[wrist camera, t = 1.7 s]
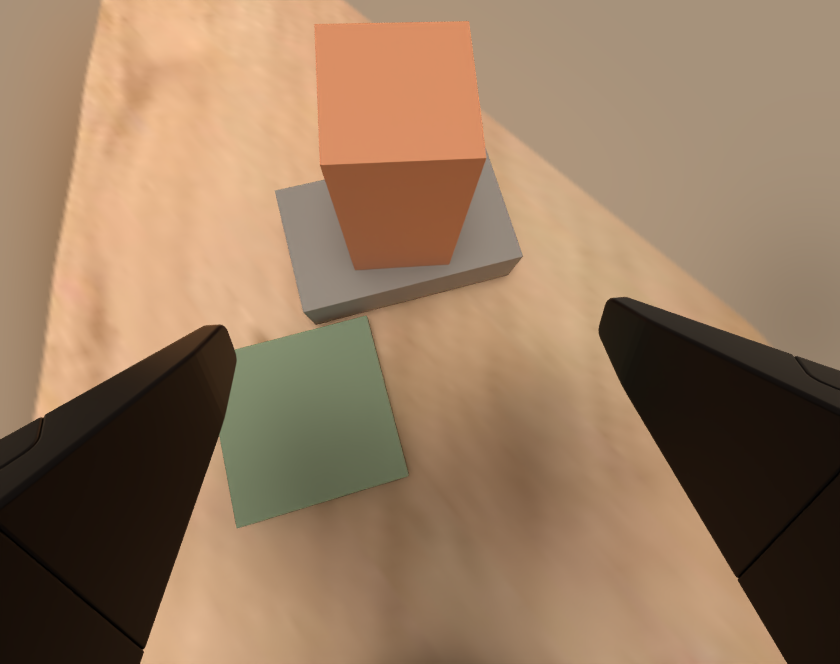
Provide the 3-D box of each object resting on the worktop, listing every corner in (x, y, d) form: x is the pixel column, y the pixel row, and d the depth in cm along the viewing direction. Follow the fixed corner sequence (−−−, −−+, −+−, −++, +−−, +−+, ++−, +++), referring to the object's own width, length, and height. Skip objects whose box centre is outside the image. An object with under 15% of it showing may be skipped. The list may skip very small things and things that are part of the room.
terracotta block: (449, 264, 21) (486, 158, 12) (354, 270, 20) (319, 165, 11) (440, 179, 21) (469, 21, 13) (350, 183, 21) (314, 24, 12)
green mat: (408, 472, 21) (408, 475, 20) (244, 522, 20) (236, 528, 19) (367, 319, 23) (366, 315, 22) (213, 359, 22) (204, 357, 21)
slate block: (507, 274, 24) (523, 256, 21) (315, 324, 23) (303, 312, 20) (474, 175, 25) (484, 144, 22) (290, 217, 24) (274, 190, 21)
